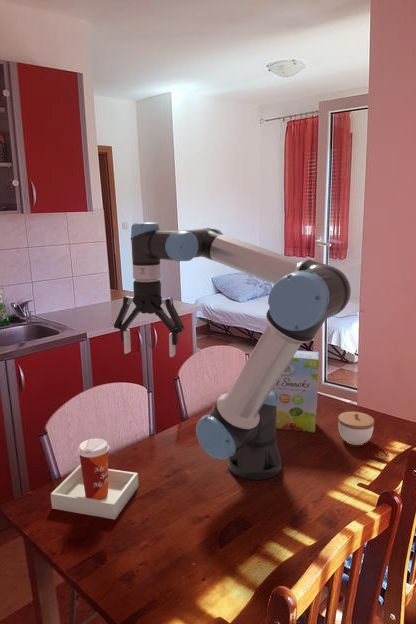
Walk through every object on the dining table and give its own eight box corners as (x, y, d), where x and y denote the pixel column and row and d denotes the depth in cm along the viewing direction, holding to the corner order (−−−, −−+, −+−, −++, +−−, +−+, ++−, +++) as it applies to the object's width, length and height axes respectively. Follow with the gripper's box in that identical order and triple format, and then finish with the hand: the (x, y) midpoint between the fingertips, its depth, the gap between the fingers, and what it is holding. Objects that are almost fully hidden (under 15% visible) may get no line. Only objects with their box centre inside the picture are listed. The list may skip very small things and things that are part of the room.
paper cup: (104, 505, 118) (101, 453, 115) (75, 501, 119) (71, 450, 116) (117, 487, 125) (114, 438, 122) (89, 484, 127) (86, 435, 124)
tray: (138, 486, 127) (137, 473, 126) (114, 519, 114) (113, 504, 113) (81, 477, 131) (80, 464, 130) (51, 508, 118) (50, 493, 117)
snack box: (249, 427, 160) (250, 354, 154) (253, 416, 168) (253, 346, 163) (316, 434, 155) (319, 358, 150) (316, 422, 164) (319, 350, 158)
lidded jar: (377, 449, 145) (379, 421, 143) (341, 449, 145) (343, 421, 143) (366, 433, 155) (368, 406, 153) (333, 433, 155) (334, 406, 153)
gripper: (99, 280, 131) (103, 354, 135) (186, 283, 124) (187, 361, 129) (111, 276, 138) (115, 347, 142) (194, 279, 131) (195, 353, 136)
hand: (149, 354), depth 136 cm, fingers open, 13 cm apart
